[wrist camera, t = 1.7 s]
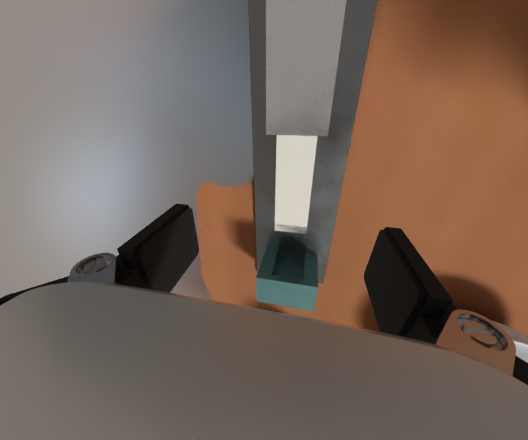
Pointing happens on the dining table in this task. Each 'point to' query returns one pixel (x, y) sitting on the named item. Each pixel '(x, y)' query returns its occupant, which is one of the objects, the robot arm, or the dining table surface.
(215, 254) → the dining table surface
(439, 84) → the dining table surface
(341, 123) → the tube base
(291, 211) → the white rectangular stick
